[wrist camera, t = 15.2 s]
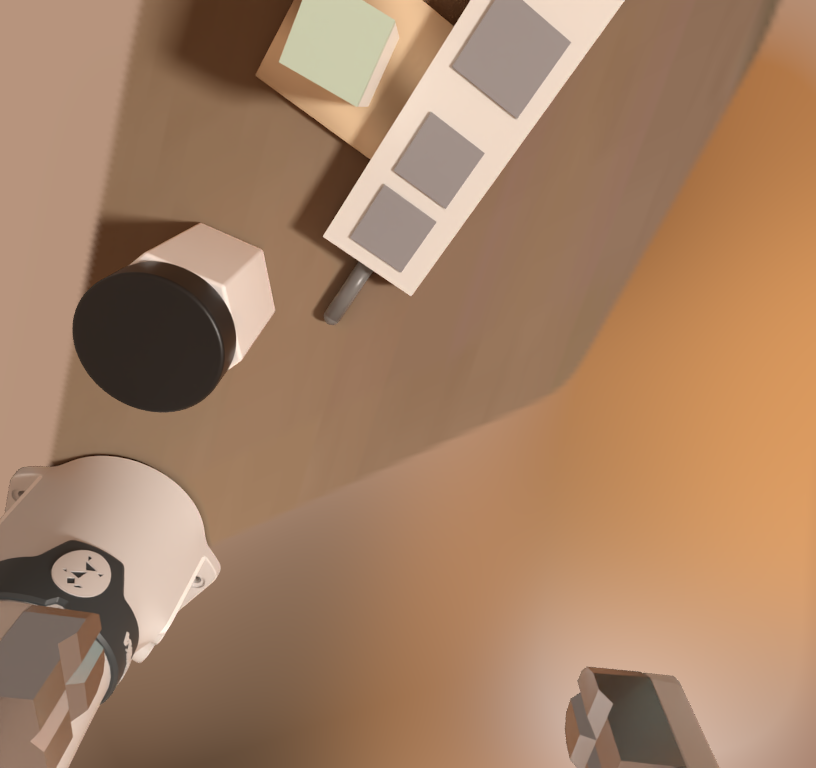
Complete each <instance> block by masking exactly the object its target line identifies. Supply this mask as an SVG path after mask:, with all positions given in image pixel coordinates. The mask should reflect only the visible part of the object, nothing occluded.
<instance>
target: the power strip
mask: <svg viewBox="0 0 816 768" xmlns="http://www.w3.org/2000/svg"><path fill="white" fill-rule="evenodd" d="M624 1H625V0H470V2H469V3H468V5H467V7H466V8H465V10H464V11H463V13H462V15H461V16H460V18H459V19H458V21H457V23H456V24H455V26H454V27H453V29H452V31H451V32H450V34H449V35H448V37H447V39H446V40H445V42H444V43H443V45H442V47H441V48H440V50H439V51H438V53H437V55H436V56H435V58H434V59H433V61H432V63H431V64H430V66H429V67H428V69H427V71H426V72H425V74H424V75H423V77H422V79H421V80H420V82H419V83H418V85H417V87H416V88H415V90H414V91H413V93H412V95H411V96H410V98H409V99H408V101H407V103H406V104H405V106H404V107H403V109H402V111H401V112H400V114H399V115H398V117H397V119H396V120H395V122H394V123H393V125H392V127H391V128H390V130H389V131H388V133H387V135H386V136H385V138H384V139H383V141H382V143H381V144H380V146H379V147H378V149H377V151H376V152H375V154H374V155H373V157H372V159H371V160H370V162H369V163H368V165H367V167H366V168H365V170H364V171H363V173H362V175H361V176H360V178H359V179H358V181H357V183H356V184H355V186H354V187H353V189H352V191H351V192H350V194H349V195H348V197H347V199H346V200H345V202H344V203H343V205H342V207H341V208H340V210H339V211H338V213H337V215H336V216H335V218H334V219H333V221H332V223H331V224H330V226H329V227H328V229H327V231H326V232H325V234H324V235H323V237H324V238H326V239H327V240H328V241H330V242H331V243H333V244H334V245H336V246H337V247H339V248H340V249H342V250H343V251H345V252H346V253H348V254H349V255H351V256H352V257H354V258H355V259H357V260H358V261H359V262H358V263H357V265H356V266H355V268H354V269H353V271H352V272H351V274H350V275H349V277H348V278H347V280H346V281H345V283H344V284H343V286H342V287H341V289H340V290H339V292H338V293H337V295H336V296H335V298H334V299H333V301H332V302H331V304H330V305H329V307H328V308H327V310H326V311H325V313H324V320H325V322H326V323H327V324H329V325H335V324H337V323H338V322H339V321H340V319H341V318H342V316H343V315H344V313H345V312H346V310H347V309H348V307H349V306H350V304H351V303H352V302H353V300H354V299H355V297H356V296H357V294H358V293H359V291H360V290H361V288H362V287H363V285H364V284H365V282H366V281H367V279H368V278H369V276H370V275H371V274H372V272H373V271H374V272H376V273H377V274H379V275H380V276H382V277H383V278H385V279H386V280H388V281H389V282H391V283H392V284H393V285H395V286H396V287H398V288H399V289H401V290H402V291H404V292H405V293H407V294H408V295H410V296H412V294H413V293H414V292H415V290H416V289H417V287H418V286H419V285H420V283H421V282H422V281H423V279H424V278H425V276H426V275H427V274H428V272H429V271H430V269H431V268H432V267H433V265H434V264H435V263H436V261H437V260H438V258H439V257H440V256H441V254H442V253H443V251H444V250H445V249H446V247H447V246H448V244H449V243H450V242H451V240H452V239H453V238H454V236H455V235H456V233H457V232H458V231H459V229H460V228H461V226H462V225H463V224H464V222H465V221H466V220H467V218H468V217H469V215H470V214H471V213H472V211H473V210H474V208H475V207H476V206H477V204H478V203H479V202H480V200H481V199H482V197H483V196H484V195H485V193H486V192H487V190H488V189H489V188H490V186H491V185H492V183H493V182H494V181H495V179H496V178H497V177H498V175H499V174H500V172H501V171H502V170H503V168H504V167H505V165H506V164H507V163H508V161H509V160H510V159H511V157H512V156H513V154H514V153H515V152H516V150H517V149H518V147H519V146H520V145H521V143H522V142H523V141H524V139H525V138H526V136H527V135H528V134H529V132H530V131H531V129H532V128H533V127H534V125H535V124H536V123H537V121H538V120H539V118H540V117H541V116H542V114H543V113H544V111H545V110H546V109H547V107H548V106H549V104H550V103H551V102H552V100H553V99H554V98H555V96H556V95H557V93H558V92H559V91H560V89H561V88H562V86H563V85H564V84H565V82H566V81H567V80H568V78H569V77H570V75H571V74H572V73H573V71H574V70H575V68H576V67H577V66H578V64H579V63H580V62H581V60H582V59H583V57H584V56H585V55H586V53H587V52H588V50H589V49H590V48H591V46H592V45H593V44H594V42H595V41H596V39H597V38H598V37H599V35H600V34H601V32H602V31H603V30H604V28H605V27H606V25H607V24H608V23H609V21H610V20H611V19H612V17H613V16H614V14H615V13H616V12H617V10H618V9H619V7H620V6H621V5H622V3H623V2H624Z"/></svg>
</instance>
